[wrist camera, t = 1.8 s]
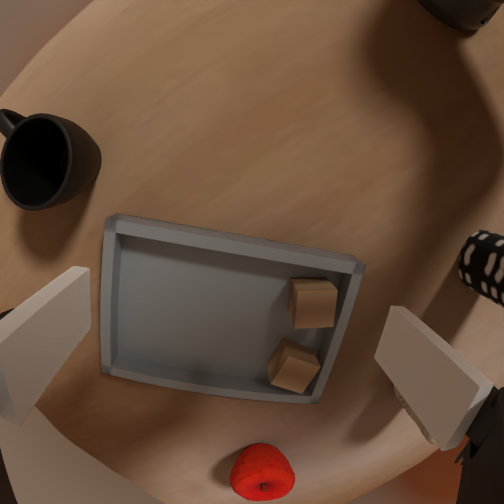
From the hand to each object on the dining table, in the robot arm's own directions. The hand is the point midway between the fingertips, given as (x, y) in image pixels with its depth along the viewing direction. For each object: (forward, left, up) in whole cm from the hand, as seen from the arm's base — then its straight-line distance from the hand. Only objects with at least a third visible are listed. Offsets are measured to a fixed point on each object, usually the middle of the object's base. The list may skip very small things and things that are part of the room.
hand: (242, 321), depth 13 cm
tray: (+9, +1, -21) cm, 23 cm away
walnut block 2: (+13, +9, -20) cm, 26 cm away
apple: (+32, +10, -21) cm, 40 cm away
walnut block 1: (+5, +9, -20) cm, 23 cm away
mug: (-6, -19, -21) cm, 29 cm away
